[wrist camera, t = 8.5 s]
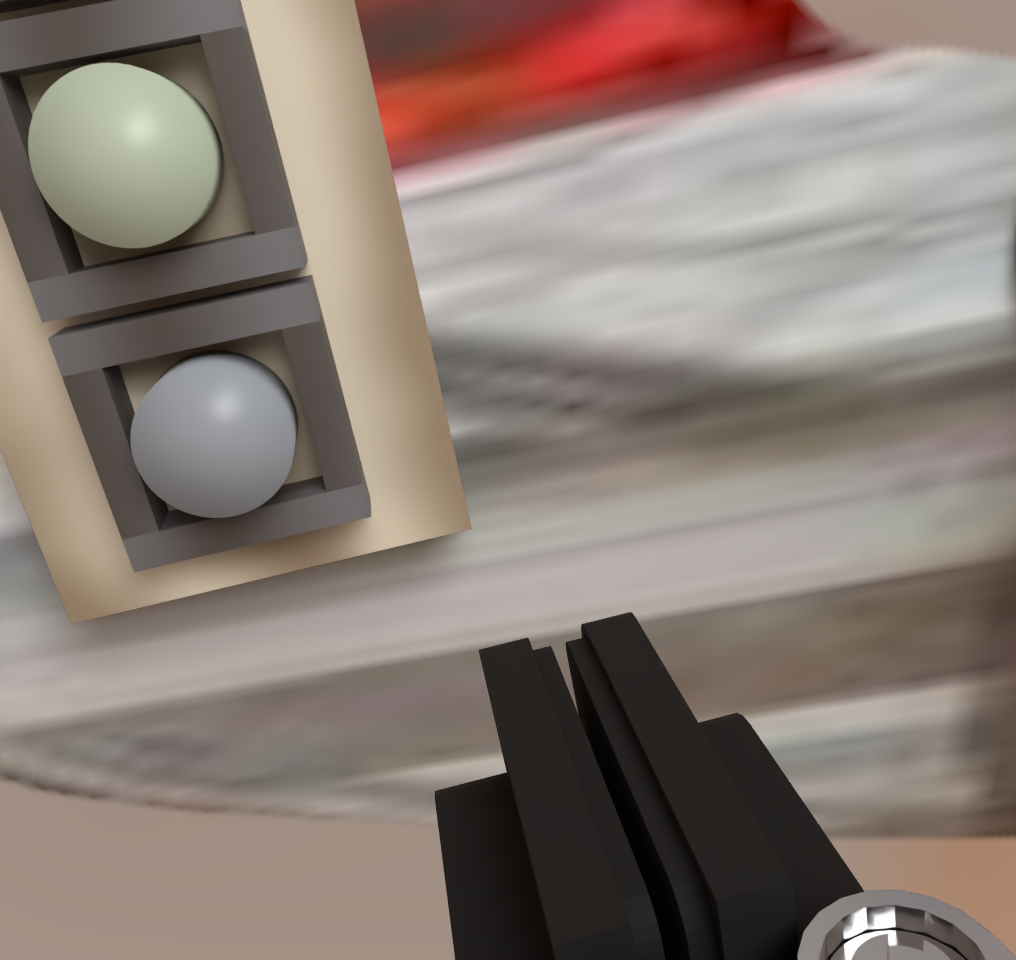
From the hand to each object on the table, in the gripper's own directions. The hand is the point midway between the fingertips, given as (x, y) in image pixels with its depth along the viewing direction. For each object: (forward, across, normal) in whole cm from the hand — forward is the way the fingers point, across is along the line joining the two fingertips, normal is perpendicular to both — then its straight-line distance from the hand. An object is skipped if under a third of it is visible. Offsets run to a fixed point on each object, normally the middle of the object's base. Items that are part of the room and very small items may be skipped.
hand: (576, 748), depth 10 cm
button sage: (+18, +6, -7) cm, 20 cm away
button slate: (+18, +6, 0) cm, 18 cm away
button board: (+21, +6, -7) cm, 23 cm away
